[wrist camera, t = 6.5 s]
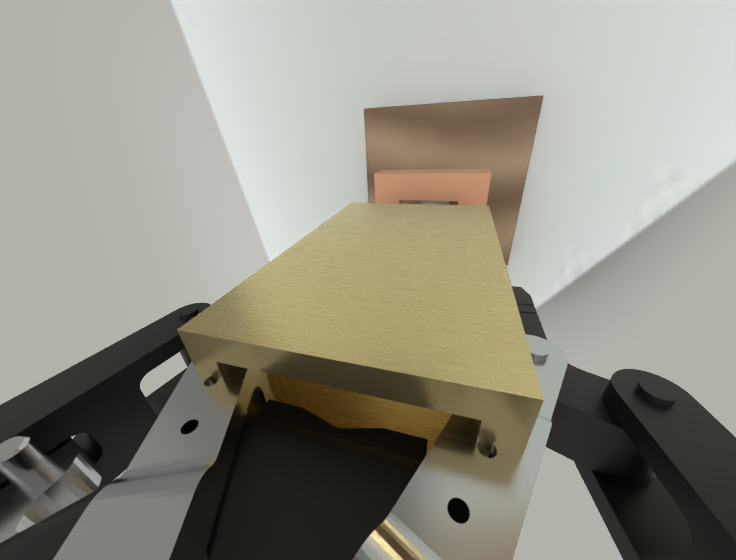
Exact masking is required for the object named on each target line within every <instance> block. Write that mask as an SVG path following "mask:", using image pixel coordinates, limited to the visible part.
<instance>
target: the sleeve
mask: <svg viewBox="0 0 736 560" xmlns="http://www.w3.org/2000/svg"><path fill="white" fill-rule="evenodd" d="M177 331H178V333H179V335H180V337H181V339H182V342H183V344H184V346H185V348H186V350H187V352H188V354H189V356H190V358H191V360H192V362H193V365H194V367H195V369H196V371H197V373H201V374H205V375H209V376H212V378H213V380H214V382H215V383H217V381H218V380H219V378H222V379H223V378H224V377H225V376H226V375H227V374H228V373H229V372H230V371H231V370H232V369H233V368H234V367H235V366H238V367H242V368H247V369H251V370H256V371H261V372H265V373H266V374H267V377H268V381H269V384H270V387H271V390H272V393H273V397H274V400H275V401H278V402H282V403H286V404H290V405H294V406H298V407H302V408H304V409H306V410H308V411H309V412H311V413H313V414H314V415H316V416H318V417H319V418H321V419H323V420H325V421H326V422H328V423H330V424H331V425H333V426H335V427H338V428H385V429H389V430H393V431H397V432H401V433H405V434H409V435H413V436H417V437H421V438H425V439H428V443H427V453H428V452H429V450H430V449H431V447H432V446H433V444H434V442H435V441H436V439H437V438H438V436H439V434H440V433H441V431H442V430H443V428H444V427H445V425H446V423H447V422H448V420H449V419H450V417H451V415H452V414H455V415H460V416H464V417H469V418H473V419H476V420H477V440H480V446H479V450H478V451H479V452H480V453H481V454H482V455H483V456H484V457H486V458H489V455H490V451H491V447H492V444H497V445H501V446H505V447H510V448H514V449H518V450H522V451H525V449H526V446H527V443H528V441H529V438H530V436H531V433H532V430H533V428H534V425H535V422H536V420H537V417H538V414H539V412H540V409H541V407H542V404H543V401H544V398H543V395H542V391H541V388H540V384H539V381H538V377H537V374H536V370H535V367H534V363H533V360H532V356H531V353H530V349H529V345H528V342H527V338H526V335H525V331H524V328H523V324H522V321H521V317H520V314H519V310H518V307H517V303H516V300H515V296H514V293H513V289H512V286H511V282H510V279H509V275H508V271H507V268H506V264H505V261H504V257H503V254H502V250H501V247H500V243H499V240H498V236H497V233H496V229H495V226H494V222H493V219H492V215H491V212H490V208H489V206H475V205H432V204H389V203H351V204H349V205H348V206H347V207H345V208H344V209H343V210H341V211H340V212H338V213H337V214H336V215H334V216H333V217H332V218H330V219H329V220H327V221H326V222H325V223H323V224H322V225H321V226H319V227H318V228H316V229H315V230H314V231H312V232H311V233H310V234H308V235H307V236H305V237H304V238H303V239H301V240H300V241H299V242H297V243H296V244H294V245H293V246H292V247H290V248H289V249H288V250H286V251H285V252H283V253H282V254H281V255H279V256H278V257H277V258H275V259H274V260H272V261H271V262H270V263H268V264H267V265H266V266H264V267H263V268H262V269H260V270H259V271H257V272H256V273H254V274H253V275H252V276H250V277H249V278H248V279H246V280H245V281H243V282H242V283H241V284H240V285H238V286H237V287H235V288H234V289H232V290H231V291H230V292H228V293H227V294H226V295H224V296H223V297H221V298H220V299H219V300H217V301H216V302H215V303H213V304H212V305H210V306H209V307H208V308H206V309H205V310H204V311H202V312H201V313H199V314H198V315H197V316H195V317H194V318H193V319H191V320H190V321H188V322H187V323H186V324H184V325H183V326H182V327H180V328H179V329H177ZM252 412H260V409H259V406H258V404H257V401H256V398H255V395H254V393H252V396H251V399H250V403H249V406H248V409H247V413H252ZM247 413H246V414H247Z"/></svg>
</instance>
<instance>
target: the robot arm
mask: <svg viewBox="0 0 736 560" xmlns="http://www.w3.org/2000/svg"><path fill="white" fill-rule="evenodd" d="M512 289H513V293H514V296H515V300H516V303H517V307H518V310H519V314H520V317H521V321H522V324H523V328H524V331H525V335H526V338H527V342H528V345H529V349H530V353H531V356H532V360H533V363H534V367H535V370H536V374H537V377H538V381H539V384H540V388H541V391H542V395H543V398H544V401H543V404H542V407H541V409H540V412H539V414H538V417H537V420H536V422H535V425H534V428H533V430H532V433H531V436H530V438H529V441H528V443H527V446H526V449H525V451H522V450H518V449H514V448H510V447H505V446H501V445H497V444H492V447H491V451H490V455H489V458H486V457H484V456H483V455H482V454H481V453H480V452H479V451H478V450H479V446H480V440H477V420H476V419H473V418H469V417H464V416H460V415H455V414H452V415H451V417H450V419H449V420H448V422H447V423H446V425H445V427H444V428H443V430H442V431H441V433H440V434H439V436H438V438H437V439H436V441H435V442H434V444H433V446H432V447H431V449H430V450H429V452H428V453H427V443H428V439H425V438H421V437H417V436H413V435H409V434H405V433H401V432H397V431H393V430H389V429H385V428H338V427H335V426H333V425H331V424H330V423H328V422H326V421H325V420H323V419H321V418H319V417H318V416H316V415H314V414H313V413H311V412H309V411H308V410H306V409H304V408H302V407H298V406H294V405H290V404H286V403H282V402H278V401H275V400H274V397H273V393H272V390H271V387H270V384H269V381H268V377H267V374H266V373H265V372H261V371H256V370H251V369H247V368H242V367H238V366H235V367H234V368H233V369H232V370H231V371H230V372H229V373H228V374H227V375H226V376H225V377H224V378H223V379H222V378H219V380H218V381H217V383H215V382H214V380H213V378H212V376H209V375H205V374H201V373H197V371H196V369H195V367H194V365H193V362H192V360H191V358H190V356H189V354H188V352H187V350H186V348H185V346H184V344H183V342H182V339H181V337H180V335H179V333H178V331H177V329H179V328H180V327H182V326H183V325H184V324H186V323H187V322H188V321H190V320H191V319H193V318H194V317H195V316H197V315H198V314H199V313H201V312H202V311H204V310H205V309H206V308H208V307H209V306H210V304H208V303H195V304H191V305H187V306H184V307H182V308H179V309H177V310H176V311H174V312H172V313H170V314H168V315H166V316H164V317H163V318H161V319H159V320H157V321H155V322H153V323H151V324H150V325H148V326H146V327H144V328H142V329H140V330H139V331H137V332H135V333H133V334H131V335H129V336H127V337H126V338H124V339H122V340H120V341H118V342H116V343H114V344H113V345H111V346H109V347H107V348H105V349H103V350H101V351H100V352H98V353H96V354H94V355H92V356H90V357H88V358H87V359H85V360H83V361H81V362H79V363H78V364H76V365H74V366H72V367H70V368H68V369H66V370H65V371H63V372H61V373H59V374H57V375H55V376H53V377H51V378H50V379H48V380H46V381H44V382H42V383H41V384H39V385H37V386H35V387H33V388H31V389H29V390H28V391H26V392H24V393H22V394H20V395H18V396H16V397H14V398H13V399H11V400H9V401H7V402H5V403H3V404H1V405H0V560H512V559H513V556H514V552H515V549H516V545H517V542H518V538H519V535H520V531H521V528H522V525H523V521H524V518H525V515H526V511H527V508H528V504H529V501H530V498H531V494H532V491H533V488H534V484H535V481H536V477H537V474H538V470H539V467H540V464H541V460H542V457H543V453H544V450H545V447H548V448H549V449H551V450H553V451H555V452H558V453H559V454H561V455H564V456H565V457H567V458H569V459H571V460H573V461H574V462H575V464H576V467H577V468H578V470H579V472H580V474H581V477H582V479H583V480H584V482H585V484H586V486H587V488H588V490H589V492H590V494H591V496H592V498H593V500H594V502H595V504H596V506H597V508H598V510H599V512H600V514H601V516H602V518H603V520H604V522H605V524H606V526H607V528H608V530H609V532H610V534H611V536H612V538H613V540H614V542H615V544H616V546H617V548H618V550H619V552H620V554H621V555H622V558H623V560H736V437H734V436H733V435H732V434H731V433H730V432H729V431H728V430H727V429H726V428H725V427H724V426H723V425H722V424H721V423H720V422H719V421H718V420H716V419H715V418H714V417H713V416H712V415H711V414H710V413H709V412H708V411H707V410H706V409H705V408H704V407H703V406H702V405H701V404H699V402H697V401H696V400H695V399H694V398H693V397H692V396H691V395H690V394H689V393H688V392H686V391H685V390H684V389H682V388H681V387H679V386H678V385H676V384H674V383H673V382H671V381H669V380H667V379H665V378H662V377H660V376H658V375H655V374H652V373H649V372H646V371H641V370H635V369H623V370H619V371H617V372H615V373H614V374H613V376H612V377H611V379H610V380H608V379H605V378H603V377H600V376H597V375H594V374H591V373H588V372H585V371H583V370H580V369H578V368H576V367H574V366H572V365H570V364H568V361H567V357H566V355H565V354H564V352H563V351H562V350H561V349H560V348H559V347H557V346H556V345H555V344H553V343H552V342H550V341H548V340H547V338H546V336H545V333H544V331H543V328H542V325H541V322H540V320H539V317H538V315H537V312H536V309H535V307H534V304H533V301H532V298H531V296H530V295H529V294H528V293H527V292H526V291H525V290H523V289H522V288H521V287H513V286H512ZM178 352H180V353H181V355H182V357H183V359H184V361H185V363H186V365H187V367H188V368H186V369H185V370H183V371H182V372H181V373H179V374H178V375H176V376H175V377H174V378H172V379H171V380H170V381H168V382H167V383H165V384H164V385H163V386H161V387H160V388H159V389H157V390H156V391H154V392H153V393H152V394H150V395H149V396H148V397H146V398H145V396H144V395H143V393H142V392H141V390H140V382H141V380H142V378H143V377H144V376H145V375H146V374H147V373H148V372H149V371H151V370H152V369H154V368H155V367H157V366H158V365H160V364H162V363H163V362H165V361H166V360H168V359H169V358H171V357H172V356H174V355H175V354H177V353H178ZM252 393H254V395H255V398H256V401H257V404H258V406H259V409H260V412H252V413H247V409H248V406H249V403H250V399H251V396H252ZM246 413H247V414H246ZM74 435H76V436H75V437H74V438H73V439H72V438H71V436H74ZM125 469H126V471H125V472H124V473H123V474H122V476H120V477H119V478H117V479H116V480H114V479H115V478H116V477H117V476H119V475H120V474H121V473H122V472H123V471H124V470H125ZM113 480H114V481H113Z"/></svg>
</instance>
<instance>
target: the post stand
mask: <svg viewBox="0 0 736 560" xmlns="http://www.w3.org/2000/svg"><path fill="white" fill-rule="evenodd" d="M542 100H543V96H530V97H516V98H503V99H489V100H476V101H462V102H449V103H435V104H422V105H409V106H395V107H382V108H368V109H364V117H365V138H366V159H367V179H368V200H369V203H375V181H374V174H375V173H376V172H378V171H380V170H428V169H490V171H491V179H490V185H489V192H488V198H487V205H486V206H489V208H490V212H491V215H492V219H493V222H494V226H495V229H496V233H497V236H498V240H499V243H500V247H501V250H502V254H503V257H504V261H505V264H506V265H508V260H509V255H510V251H511V246H512V241H513V237H514V232H515V227H516V222H517V218H518V213H519V208H520V204H521V199H522V194H523V189H524V185H525V180H526V175H527V171H528V166H529V161H530V157H531V152H532V147H533V142H534V138H535V133H536V128H537V124H538V119H539V114H540V109H541V105H542ZM404 204H432V205H458V201H420V200H404Z"/></svg>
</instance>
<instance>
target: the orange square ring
mask: <svg viewBox="0 0 736 560" xmlns="http://www.w3.org/2000/svg"><path fill="white" fill-rule="evenodd" d="M490 179H491V171H490V169H428V170H380V171H378V172H376V173H375V174H374V181H375V203H389V204H404V200H420V201H458V205H475V206H486V205H487V198H488V192H489V185H490Z"/></svg>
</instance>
